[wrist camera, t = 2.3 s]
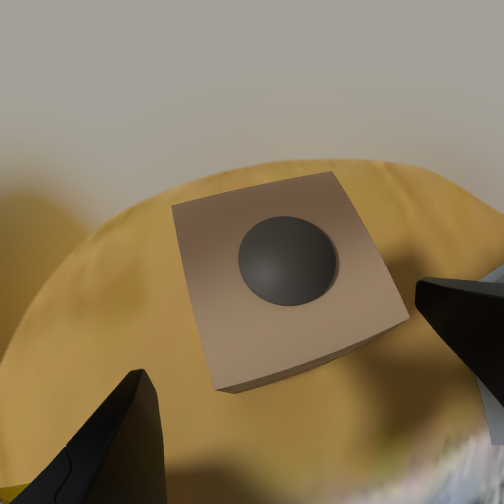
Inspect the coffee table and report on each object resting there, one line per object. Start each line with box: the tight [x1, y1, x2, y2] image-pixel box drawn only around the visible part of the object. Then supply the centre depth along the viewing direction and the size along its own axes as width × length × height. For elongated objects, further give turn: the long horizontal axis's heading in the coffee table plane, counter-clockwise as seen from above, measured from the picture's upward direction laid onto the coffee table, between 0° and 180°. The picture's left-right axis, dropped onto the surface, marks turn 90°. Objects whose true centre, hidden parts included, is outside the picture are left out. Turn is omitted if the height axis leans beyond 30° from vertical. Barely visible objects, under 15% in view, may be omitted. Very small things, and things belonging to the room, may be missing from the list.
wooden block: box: [172, 171, 410, 394], centre depth 12 cm, size 5×5×11 cm
